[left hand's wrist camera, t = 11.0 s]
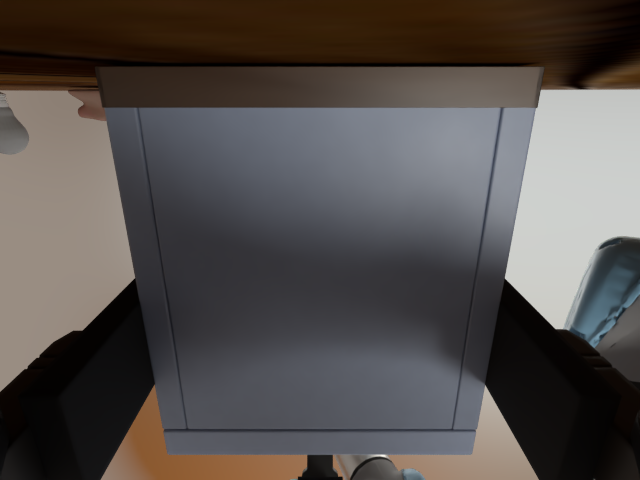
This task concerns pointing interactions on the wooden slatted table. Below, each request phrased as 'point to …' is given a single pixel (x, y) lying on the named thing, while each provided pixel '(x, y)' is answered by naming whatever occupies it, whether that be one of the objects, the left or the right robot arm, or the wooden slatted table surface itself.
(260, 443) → the lid
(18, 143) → the light bulb
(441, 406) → the chest
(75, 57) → the wooden slatted table surface
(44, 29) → the wooden slatted table surface
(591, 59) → the wooden slatted table surface
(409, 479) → the right robot arm
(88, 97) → the anatomical model
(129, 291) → the left robot arm
